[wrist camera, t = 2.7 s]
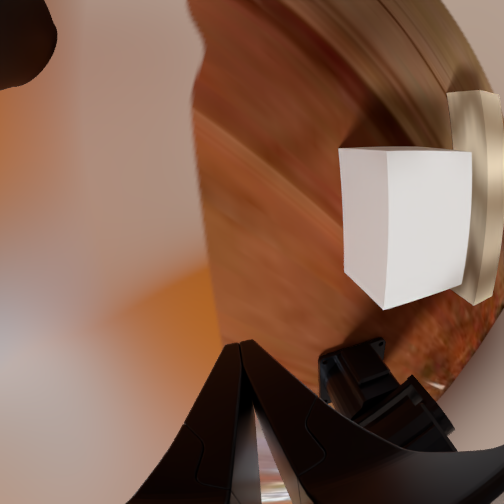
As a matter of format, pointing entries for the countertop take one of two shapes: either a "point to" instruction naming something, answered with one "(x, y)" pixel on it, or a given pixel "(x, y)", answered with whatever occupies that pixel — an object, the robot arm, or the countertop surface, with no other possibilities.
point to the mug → (24, 40)
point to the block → (405, 220)
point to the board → (481, 186)
